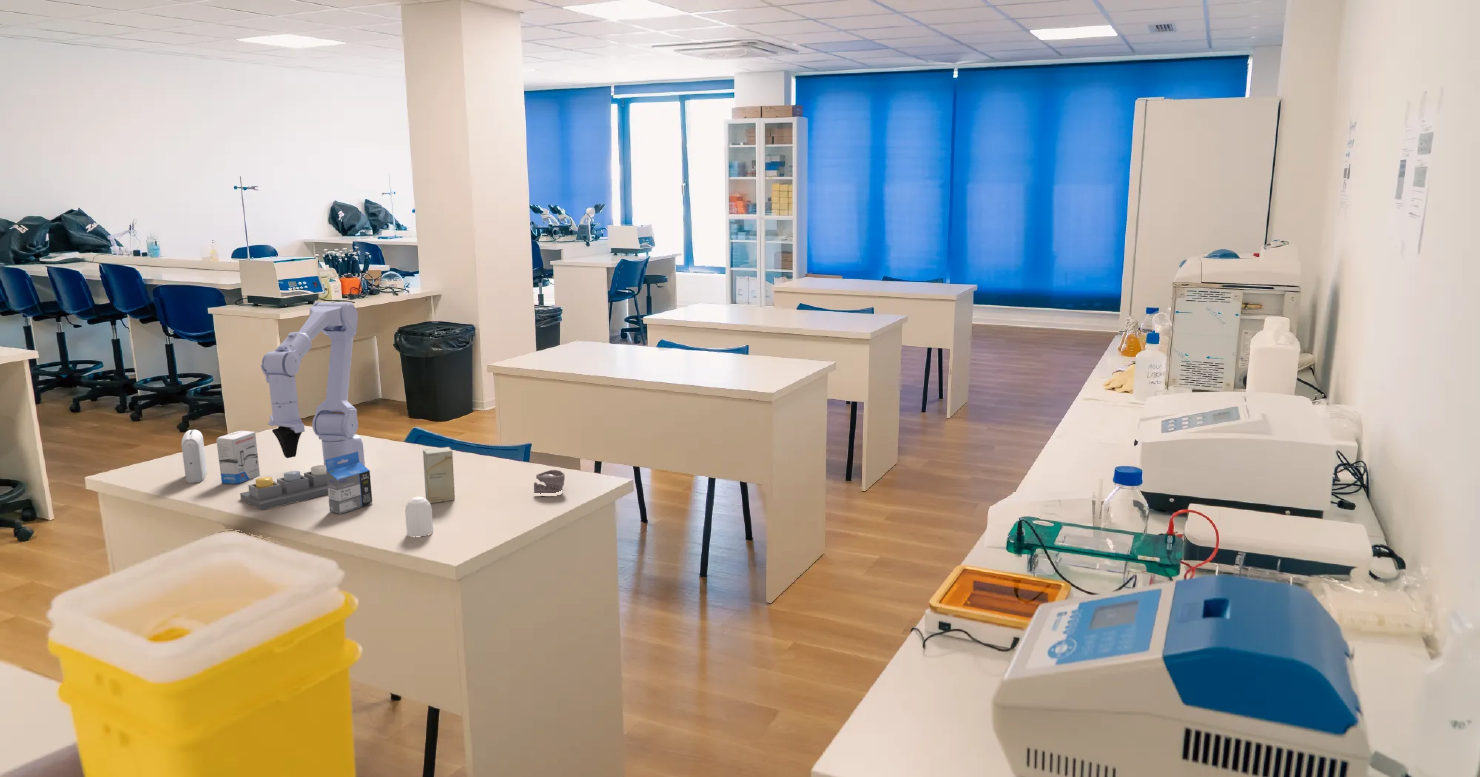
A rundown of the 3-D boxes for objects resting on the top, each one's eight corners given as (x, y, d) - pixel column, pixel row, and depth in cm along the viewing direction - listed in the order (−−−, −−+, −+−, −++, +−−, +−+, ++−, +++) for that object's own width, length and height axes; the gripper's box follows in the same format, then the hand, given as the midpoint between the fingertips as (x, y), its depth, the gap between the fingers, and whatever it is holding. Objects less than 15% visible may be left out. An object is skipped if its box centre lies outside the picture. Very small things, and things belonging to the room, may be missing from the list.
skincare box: (428, 504, 222) (424, 454, 220) (425, 498, 226) (421, 449, 223) (456, 500, 225) (452, 450, 222) (452, 494, 229) (449, 446, 226)
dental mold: (546, 500, 224) (545, 480, 223) (528, 494, 229) (527, 474, 228) (573, 492, 230) (572, 473, 229) (555, 487, 235) (554, 467, 234)
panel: (323, 480, 241) (322, 465, 240) (346, 490, 233) (344, 474, 232) (240, 499, 226) (238, 483, 225) (261, 510, 218) (259, 493, 217)
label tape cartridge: (339, 515, 215) (334, 462, 212) (329, 512, 217) (324, 460, 214) (373, 504, 222) (368, 453, 220) (362, 501, 224) (358, 450, 222)
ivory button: (323, 475, 236) (322, 464, 236) (330, 478, 234) (329, 467, 233) (309, 478, 234) (308, 467, 233) (315, 481, 231) (314, 470, 231)
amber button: (269, 487, 227) (268, 475, 226) (276, 490, 224) (275, 478, 224) (254, 490, 224) (252, 479, 224) (260, 493, 222) (259, 482, 221)
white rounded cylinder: (437, 528, 206) (434, 493, 204) (427, 537, 201) (425, 501, 199) (412, 528, 206) (410, 493, 204) (403, 537, 201) (400, 501, 199)
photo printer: (204, 482, 240) (198, 434, 237) (184, 484, 238) (178, 436, 236) (208, 471, 249) (203, 425, 247) (190, 473, 247) (184, 427, 245)
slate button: (297, 481, 231) (296, 470, 231) (303, 484, 229) (302, 472, 229) (282, 484, 229) (281, 473, 228) (288, 487, 226) (287, 476, 226)
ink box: (237, 484, 237) (232, 439, 235) (220, 483, 238) (215, 438, 236) (261, 474, 246) (256, 430, 243) (244, 473, 247) (239, 429, 244)
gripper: (254, 399, 227) (260, 454, 230) (280, 408, 217) (286, 466, 220) (284, 395, 232) (290, 448, 235) (311, 403, 222) (316, 459, 225)
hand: (290, 456), depth 228 cm, fingers closed
